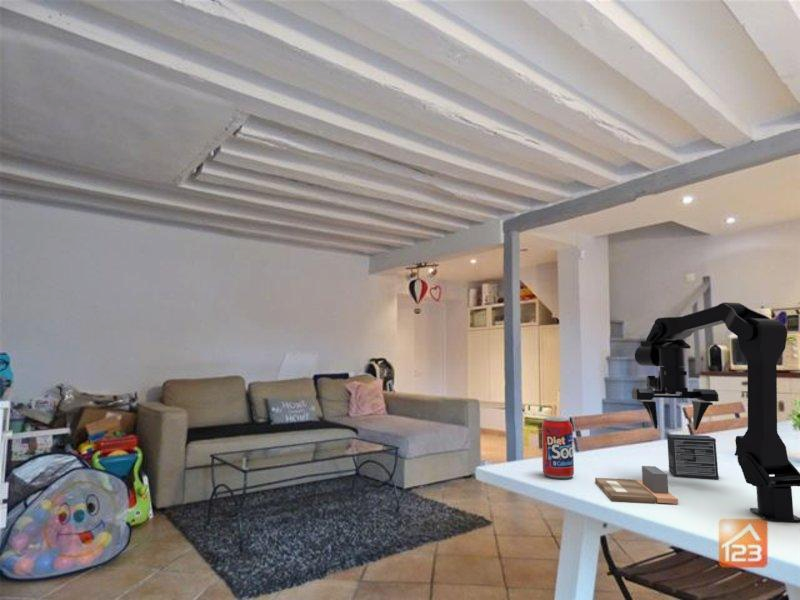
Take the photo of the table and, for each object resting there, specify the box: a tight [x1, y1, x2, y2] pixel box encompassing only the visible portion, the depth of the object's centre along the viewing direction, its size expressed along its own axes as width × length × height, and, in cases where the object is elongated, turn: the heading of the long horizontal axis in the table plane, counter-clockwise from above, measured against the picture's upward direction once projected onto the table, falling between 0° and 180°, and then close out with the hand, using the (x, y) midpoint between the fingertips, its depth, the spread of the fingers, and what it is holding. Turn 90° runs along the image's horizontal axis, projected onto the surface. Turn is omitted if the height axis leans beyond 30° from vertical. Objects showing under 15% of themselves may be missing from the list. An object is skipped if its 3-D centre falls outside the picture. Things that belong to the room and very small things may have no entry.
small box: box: [666, 433, 720, 480], centre depth 133 cm, size 11×6×10 cm, turn 74°
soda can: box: [541, 416, 575, 480], centre depth 131 cm, size 8×8×15 cm
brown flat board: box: [594, 477, 657, 504], centre depth 116 cm, size 16×9×1 cm, turn 171°
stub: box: [633, 465, 679, 505], centre depth 115 cm, size 16×4×5 cm, turn 171°
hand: (675, 429), depth 125 cm, fingers open, 9 cm apart
